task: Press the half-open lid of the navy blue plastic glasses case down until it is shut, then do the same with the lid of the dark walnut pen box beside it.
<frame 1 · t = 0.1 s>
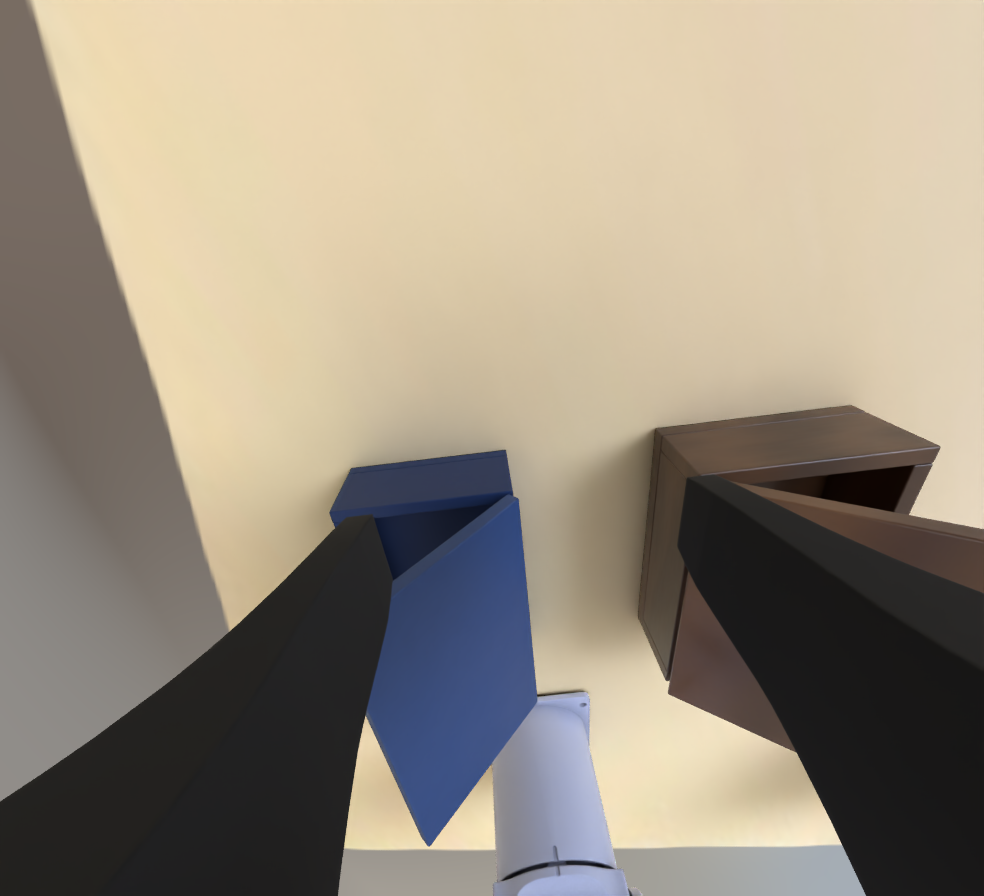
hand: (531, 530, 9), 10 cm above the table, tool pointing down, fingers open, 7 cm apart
blue case lid: (467, 677, 17), point 7 cm above the table, hinge at 45.0°
blue case: (450, 564, 23), on the table
pen box lid: (819, 648, 16), point 8 cm above the table, hinge at 35.0°
pen box: (729, 525, 23), on the table
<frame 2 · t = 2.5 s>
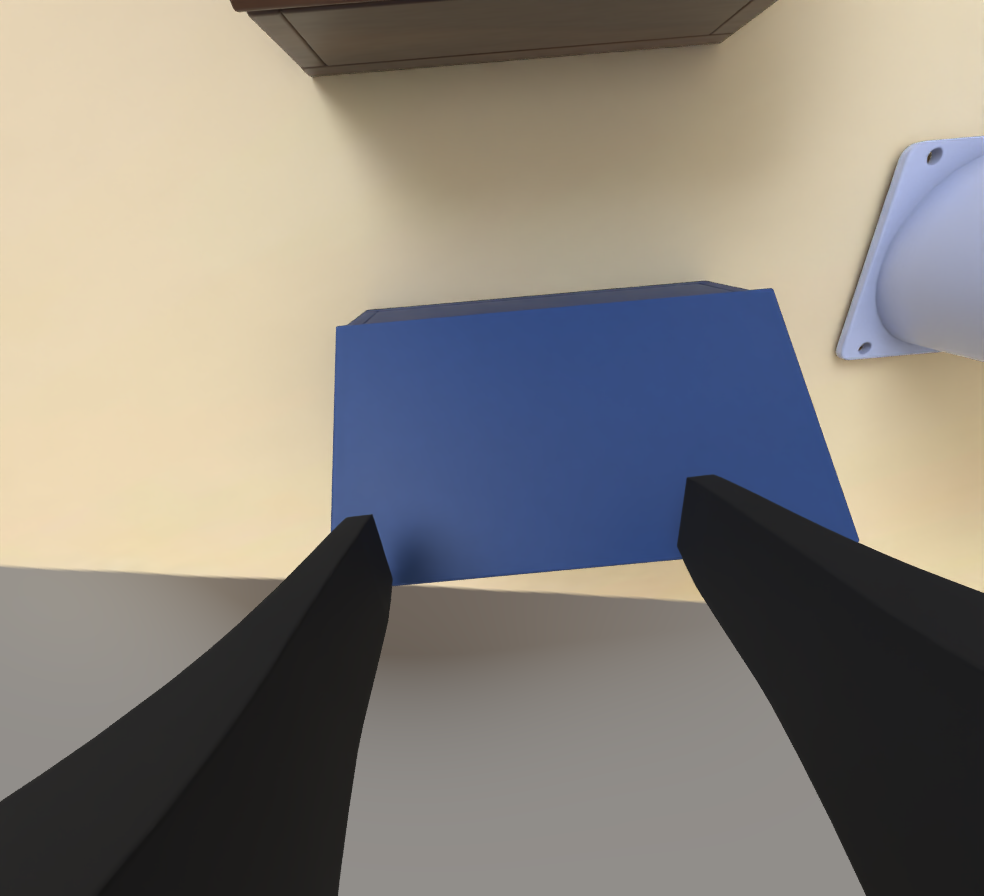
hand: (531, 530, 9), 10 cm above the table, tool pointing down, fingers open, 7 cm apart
blue case lid: (572, 427, 12), point 7 cm above the table, hinge at 45.0°
blue case: (538, 383, 19), on the table
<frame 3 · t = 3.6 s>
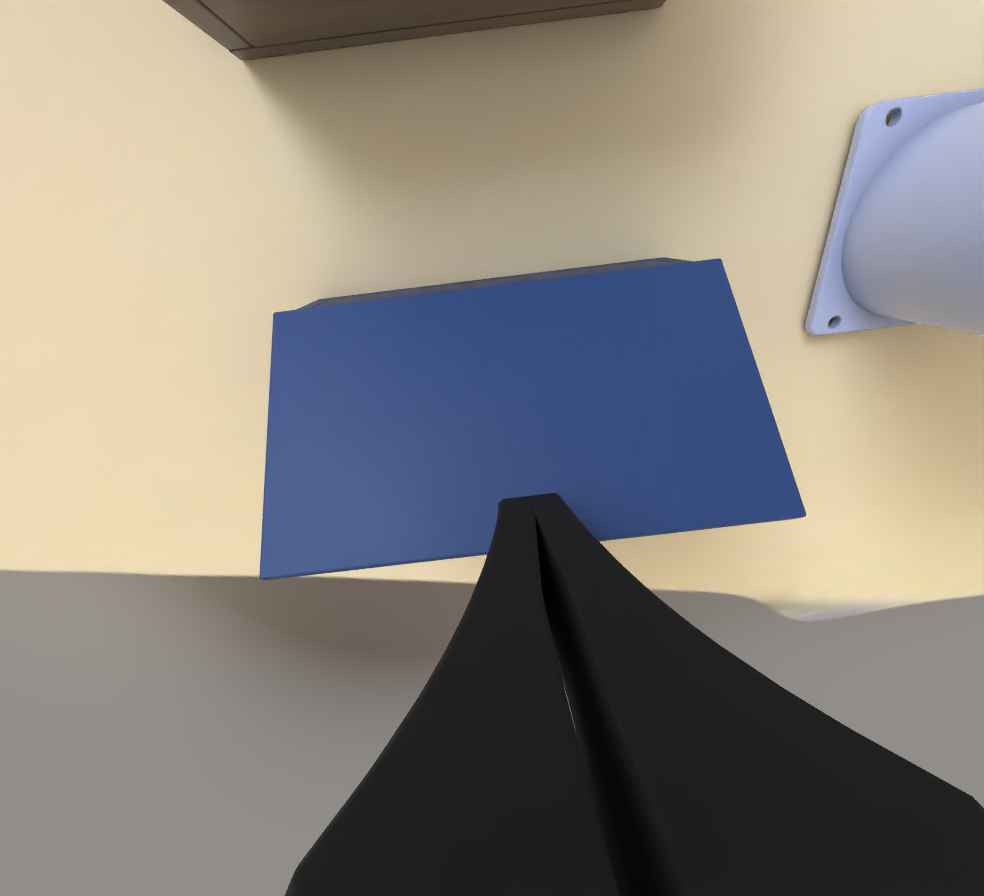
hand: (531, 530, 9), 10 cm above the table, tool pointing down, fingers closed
blue case lid: (512, 407, 12), point 7 cm above the table, hinge at 45.0°
blue case: (500, 369, 18), on the table
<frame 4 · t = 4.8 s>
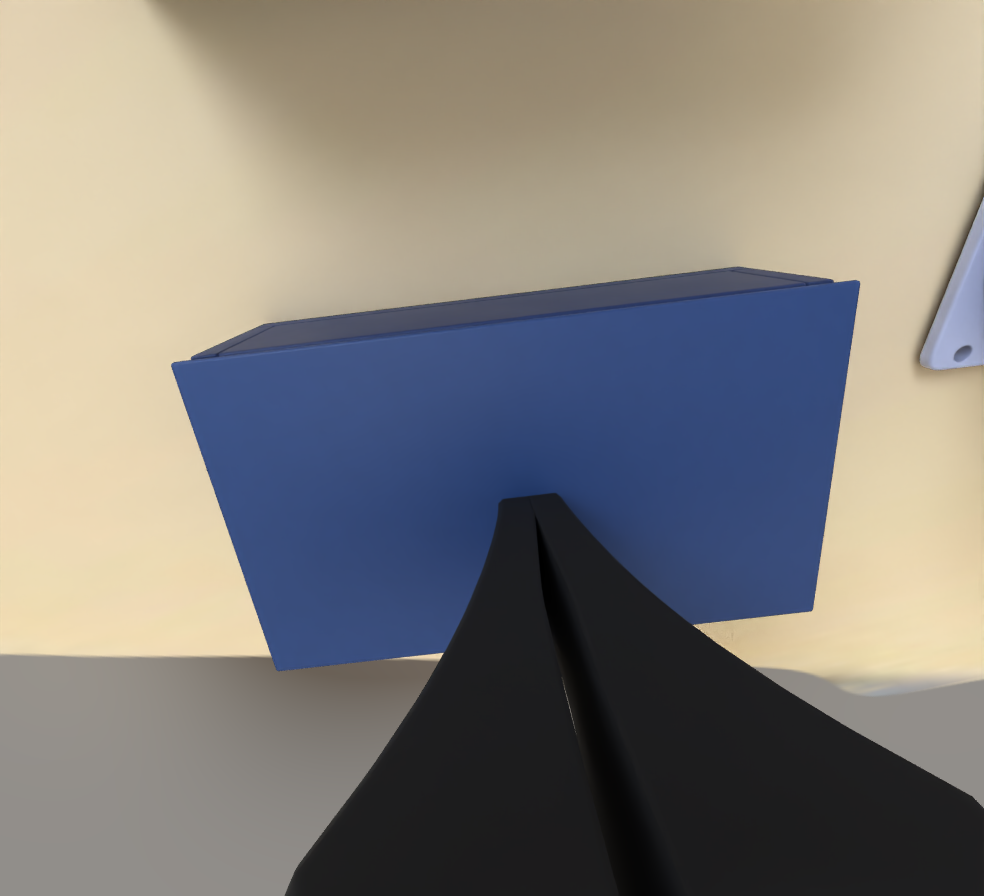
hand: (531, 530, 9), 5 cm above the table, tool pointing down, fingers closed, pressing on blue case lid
blue case lid: (528, 497, 10), point 5 cm above the table, hinge at 11.0°, touching gripper
blue case: (510, 414, 14), on the table
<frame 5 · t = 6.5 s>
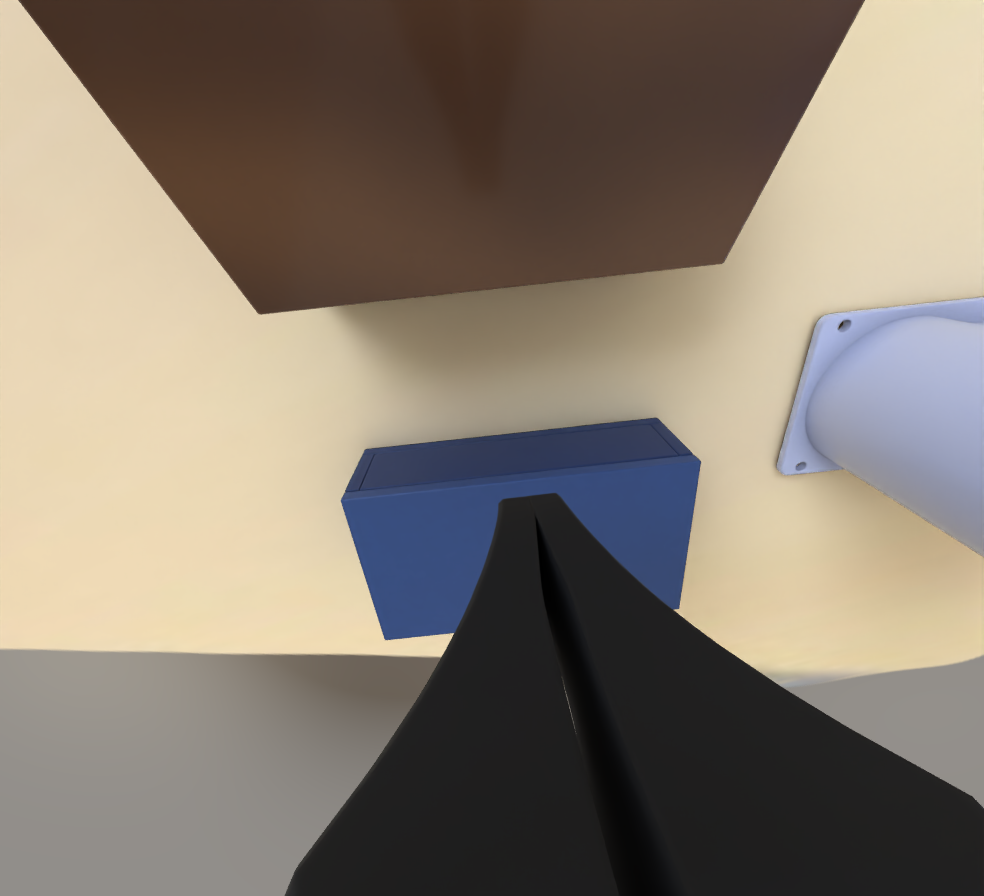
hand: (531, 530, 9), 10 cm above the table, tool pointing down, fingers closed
blue case lid: (525, 555, 18), point 4 cm above the table, hinge at 2.0°
blue case: (516, 498, 21), on the table
pen box lid: (473, 57, 7), point 8 cm above the table, hinge at 35.0°
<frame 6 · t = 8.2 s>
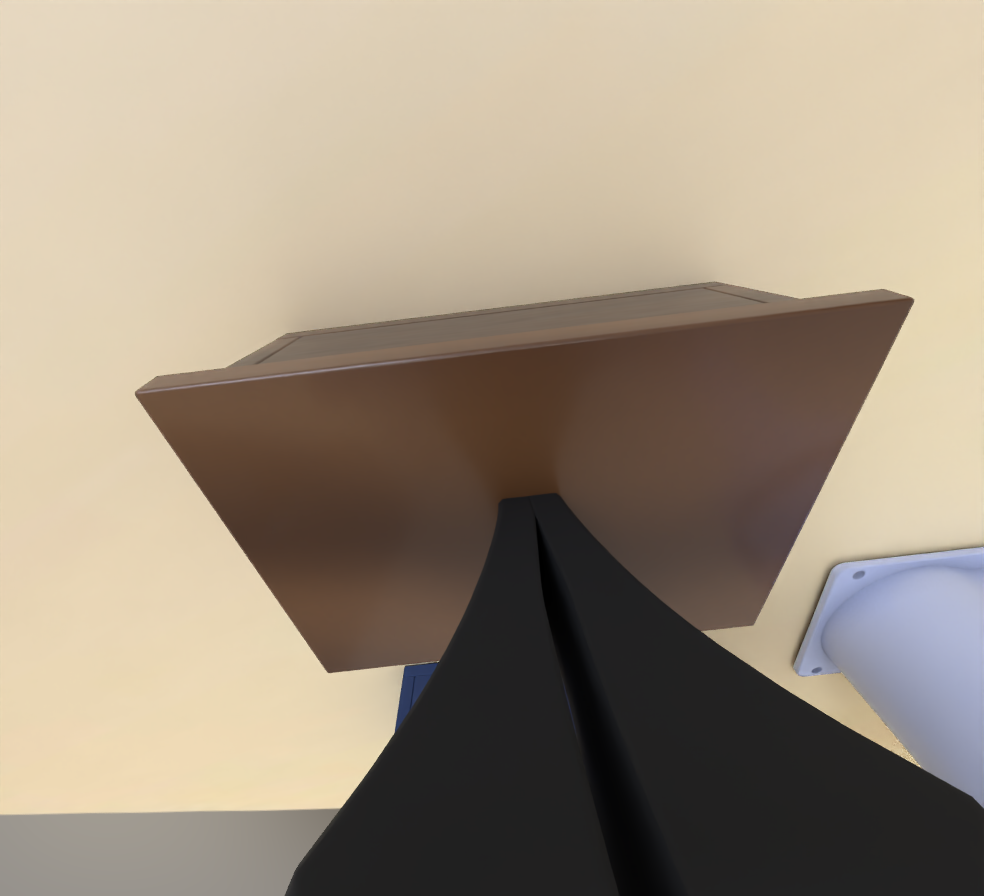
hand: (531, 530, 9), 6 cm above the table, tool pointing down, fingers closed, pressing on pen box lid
blue case: (545, 694, 23), on the table
pen box lid: (531, 532, 10), point 5 cm above the table, hinge at 7.2°, touching gripper
pen box: (512, 442, 15), on the table
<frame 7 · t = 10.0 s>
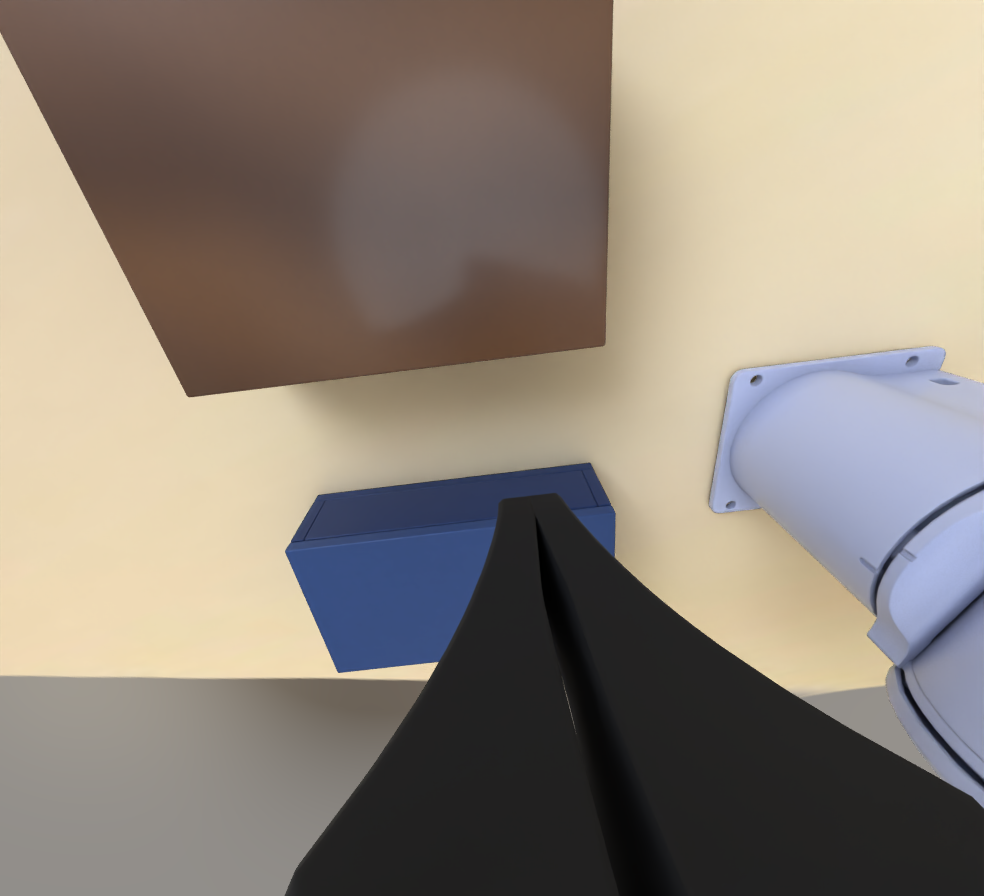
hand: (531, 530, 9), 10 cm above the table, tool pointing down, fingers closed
blue case lid: (463, 596, 19), point 4 cm above the table, hinge at 2.0°
blue case: (464, 536, 23), on the table
pen box lid: (353, 188, 11), point 5 cm above the table, hinge at 0.8°
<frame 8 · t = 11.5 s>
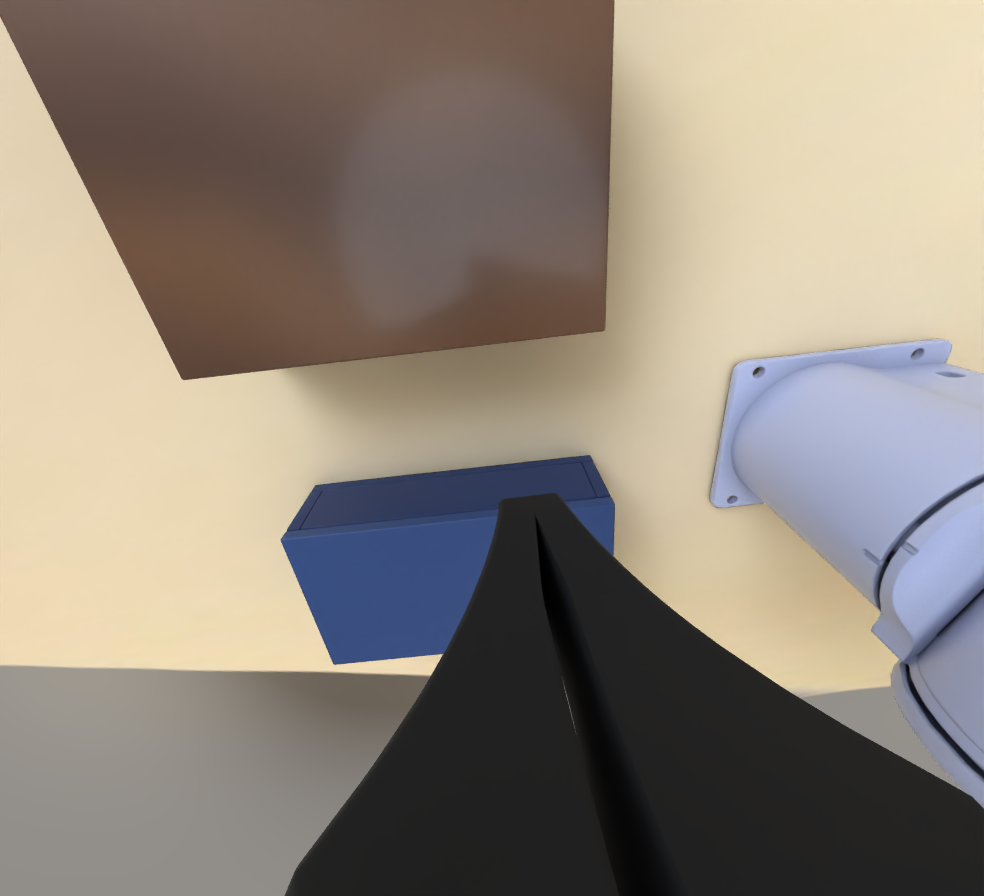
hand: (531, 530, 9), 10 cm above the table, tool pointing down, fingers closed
blue case lid: (460, 588, 19), point 4 cm above the table, hinge at 2.0°
blue case: (462, 528, 23), on the table
pen box lid: (350, 165, 11), point 5 cm above the table, hinge at 0.8°
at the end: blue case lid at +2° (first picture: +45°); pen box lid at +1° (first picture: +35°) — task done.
